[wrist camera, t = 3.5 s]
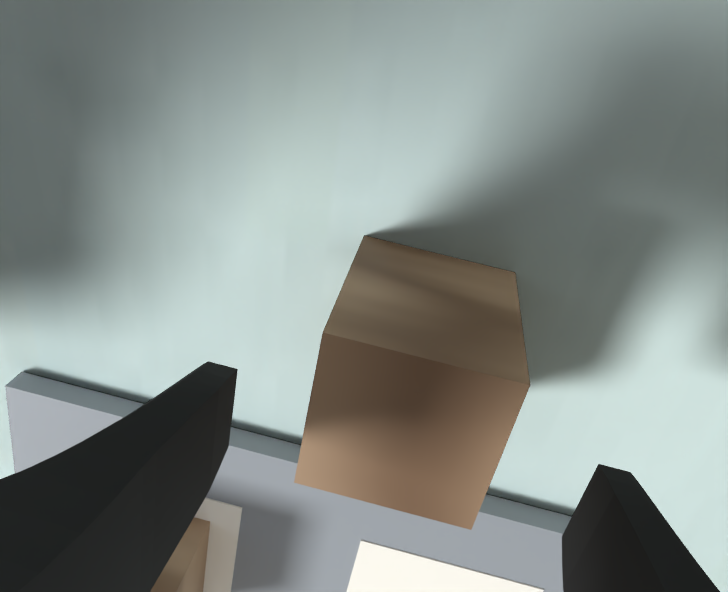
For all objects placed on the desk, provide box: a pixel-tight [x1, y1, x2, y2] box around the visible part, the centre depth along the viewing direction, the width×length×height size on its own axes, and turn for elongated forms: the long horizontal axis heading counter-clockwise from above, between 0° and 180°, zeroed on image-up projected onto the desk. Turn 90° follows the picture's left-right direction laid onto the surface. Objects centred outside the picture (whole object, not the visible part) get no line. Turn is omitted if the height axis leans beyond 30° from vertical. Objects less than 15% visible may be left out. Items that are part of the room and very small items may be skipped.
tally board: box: [5, 372, 571, 592], centre depth 22 cm, size 20×11×1 cm, turn 78°
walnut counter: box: [294, 235, 530, 530], centre depth 15 cm, size 4×4×5 cm
